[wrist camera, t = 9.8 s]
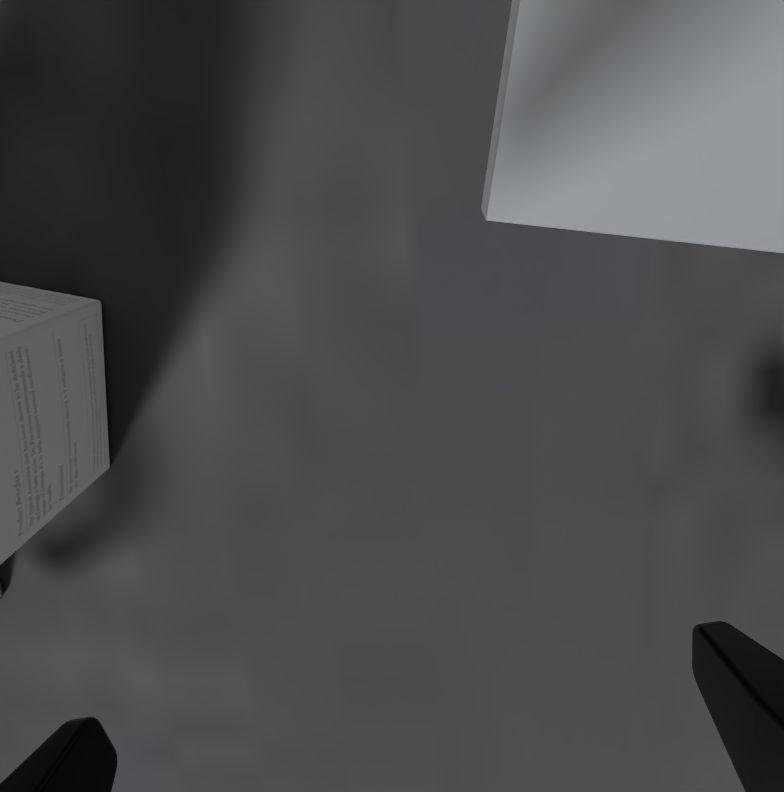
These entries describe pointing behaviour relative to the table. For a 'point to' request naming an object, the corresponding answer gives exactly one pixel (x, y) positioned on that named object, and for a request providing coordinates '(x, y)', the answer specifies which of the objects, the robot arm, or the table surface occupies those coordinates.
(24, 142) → the table surface
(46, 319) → the supplement box
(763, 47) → the slate block
